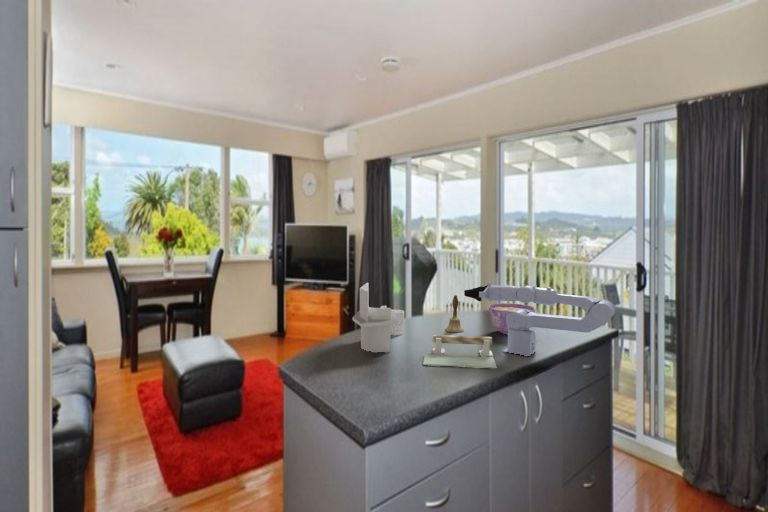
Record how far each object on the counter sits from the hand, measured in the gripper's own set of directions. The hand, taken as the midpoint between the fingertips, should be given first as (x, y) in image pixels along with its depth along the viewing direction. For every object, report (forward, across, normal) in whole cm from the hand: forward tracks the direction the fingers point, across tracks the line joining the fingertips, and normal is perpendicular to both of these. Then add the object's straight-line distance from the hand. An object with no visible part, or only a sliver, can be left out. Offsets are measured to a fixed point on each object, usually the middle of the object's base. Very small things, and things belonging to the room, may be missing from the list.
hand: (468, 292), depth 165 cm
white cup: (+34, +3, +19) cm, 39 cm away
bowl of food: (-7, -27, +21) cm, 35 cm away
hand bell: (+15, -18, +20) cm, 31 cm away
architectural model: (+30, +24, +20) cm, 44 cm away
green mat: (-6, +23, +22) cm, 32 cm away
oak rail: (-3, +14, +17) cm, 22 cm away
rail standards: (-3, +14, +21) cm, 25 cm away
